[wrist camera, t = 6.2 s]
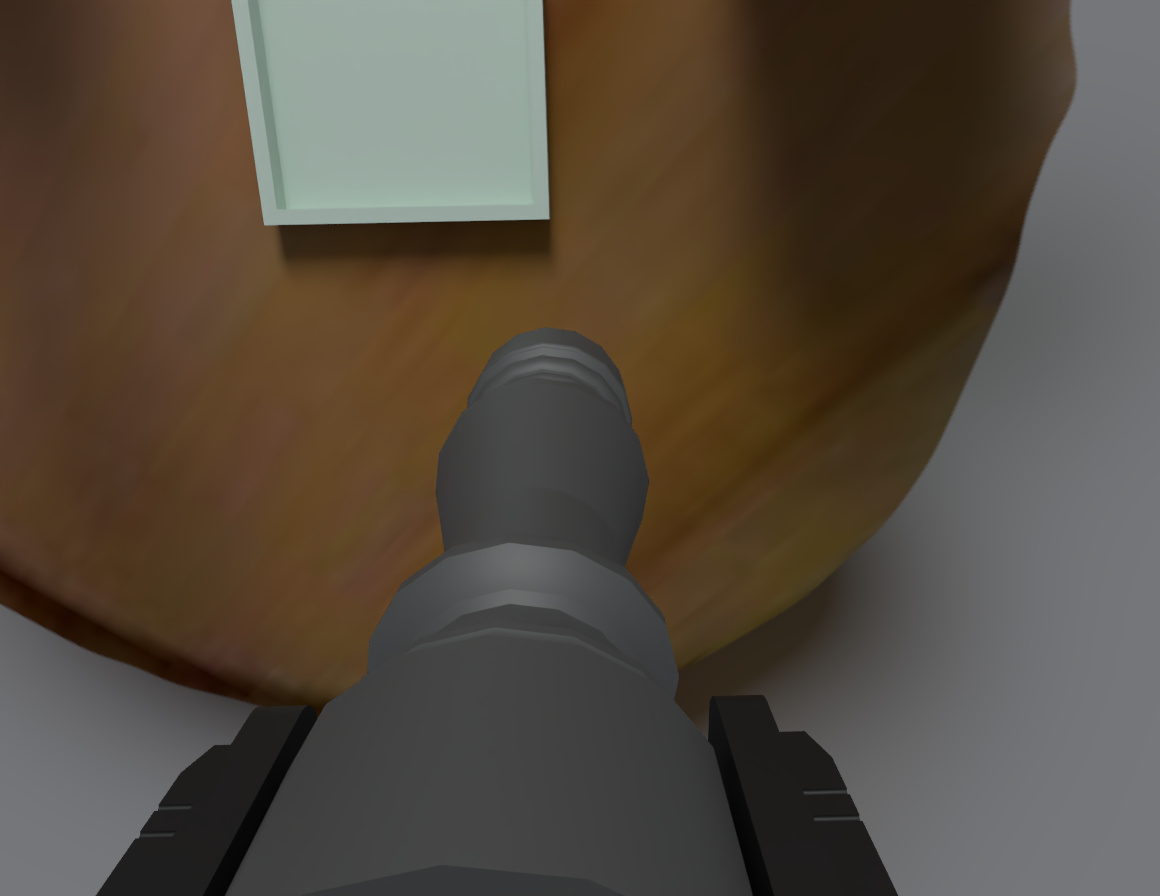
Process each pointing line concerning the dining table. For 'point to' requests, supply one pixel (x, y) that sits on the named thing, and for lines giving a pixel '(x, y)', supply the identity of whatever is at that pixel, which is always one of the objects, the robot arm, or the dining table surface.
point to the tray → (396, 109)
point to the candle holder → (514, 682)
